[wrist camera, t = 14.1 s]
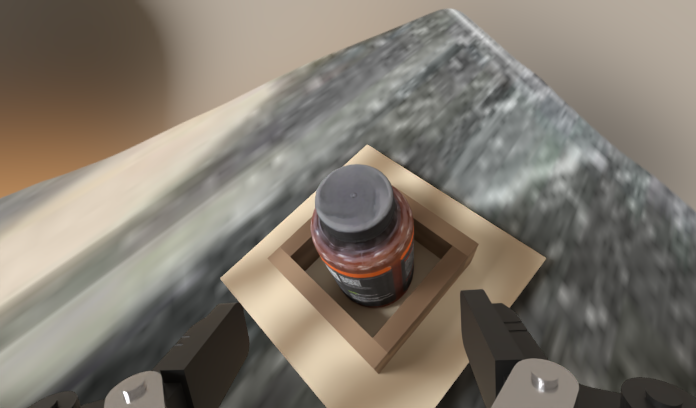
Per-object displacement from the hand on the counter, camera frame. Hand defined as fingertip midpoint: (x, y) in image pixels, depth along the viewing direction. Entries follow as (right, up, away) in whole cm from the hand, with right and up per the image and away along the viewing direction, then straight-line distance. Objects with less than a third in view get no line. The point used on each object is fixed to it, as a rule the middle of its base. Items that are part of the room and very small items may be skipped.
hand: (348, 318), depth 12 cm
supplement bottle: (+2, -1, +14) cm, 14 cm away
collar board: (+2, -2, +15) cm, 16 cm away
